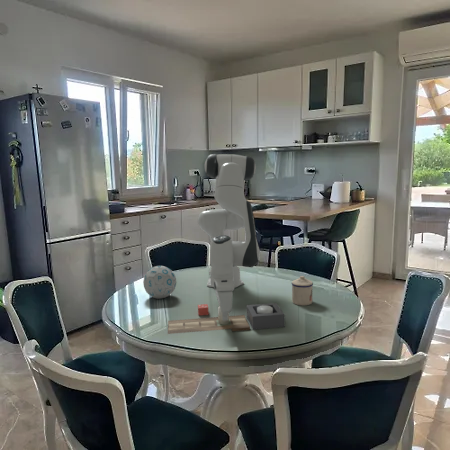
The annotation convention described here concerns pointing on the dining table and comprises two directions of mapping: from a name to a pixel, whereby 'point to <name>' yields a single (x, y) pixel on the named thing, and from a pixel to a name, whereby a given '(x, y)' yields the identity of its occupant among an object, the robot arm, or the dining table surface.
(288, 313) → the dining table surface
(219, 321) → the pawn
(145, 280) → the puzzle ball
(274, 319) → the dome housing
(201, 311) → the die
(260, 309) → the push dome
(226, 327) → the board
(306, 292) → the teacup with lid
